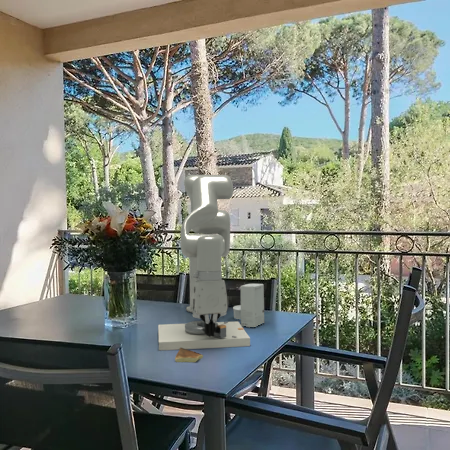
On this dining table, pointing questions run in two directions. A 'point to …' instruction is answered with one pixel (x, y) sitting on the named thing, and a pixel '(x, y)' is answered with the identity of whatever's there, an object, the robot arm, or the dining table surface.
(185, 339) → the board
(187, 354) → the shard
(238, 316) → the ramekin
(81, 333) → the dining table surface
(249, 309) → the skincare box
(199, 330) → the dial
